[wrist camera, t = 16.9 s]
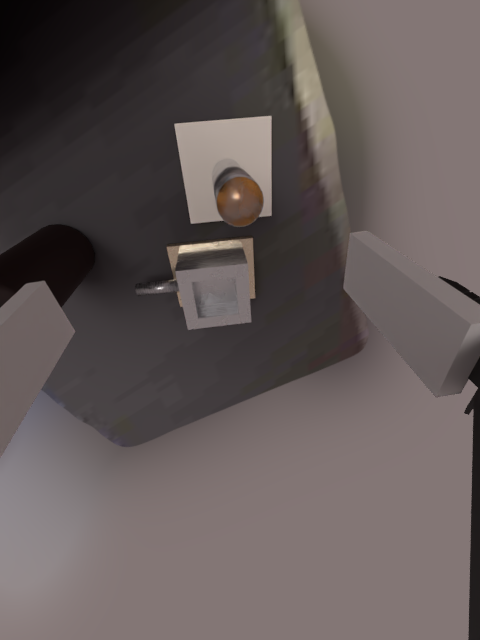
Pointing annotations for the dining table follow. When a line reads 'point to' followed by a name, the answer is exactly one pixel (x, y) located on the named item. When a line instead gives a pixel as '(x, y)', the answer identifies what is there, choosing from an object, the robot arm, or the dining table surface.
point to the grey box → (210, 281)
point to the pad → (220, 143)
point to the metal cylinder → (236, 193)
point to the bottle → (47, 262)
